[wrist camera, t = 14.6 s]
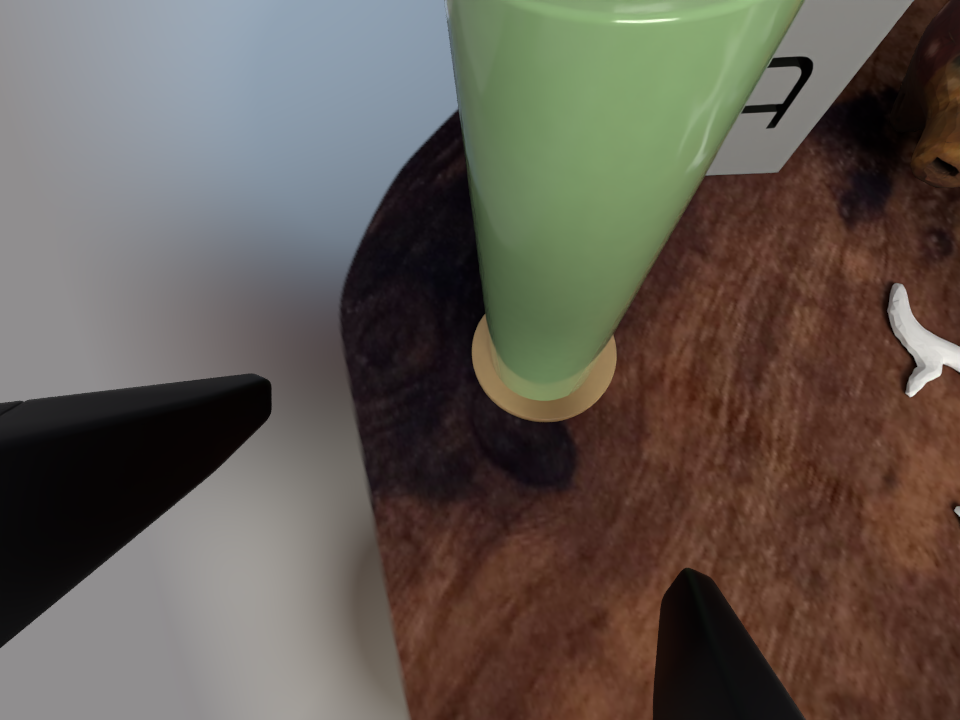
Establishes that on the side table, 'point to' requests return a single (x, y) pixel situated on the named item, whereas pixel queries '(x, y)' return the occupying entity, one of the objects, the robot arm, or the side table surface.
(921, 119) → the ocarina
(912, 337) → the tree stump
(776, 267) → the side table surface
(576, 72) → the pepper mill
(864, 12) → the icon cube
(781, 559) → the side table surface
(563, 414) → the coaster
